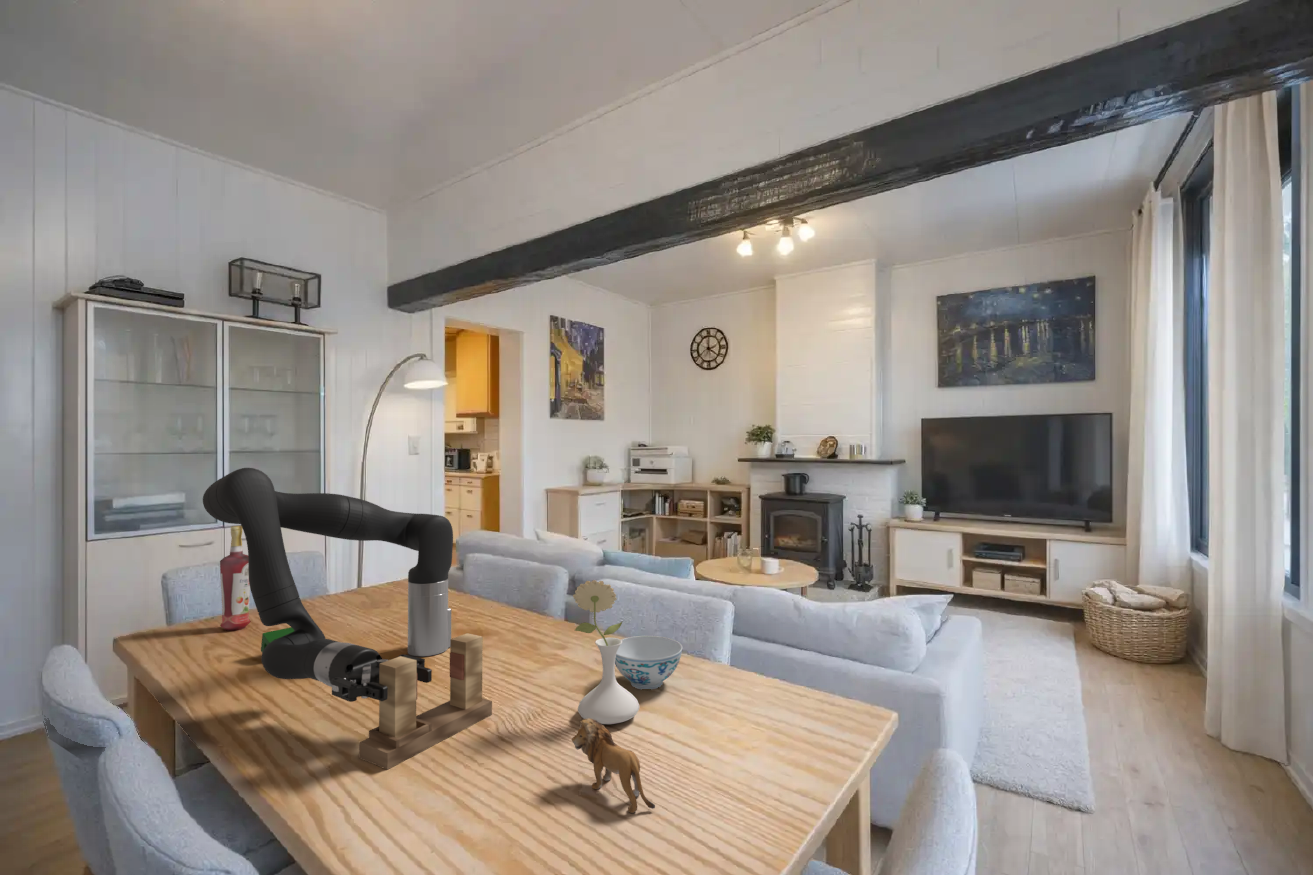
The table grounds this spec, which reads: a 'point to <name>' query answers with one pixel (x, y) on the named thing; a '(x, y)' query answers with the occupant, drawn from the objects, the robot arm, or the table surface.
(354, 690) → the robot arm
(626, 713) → the flower in vase
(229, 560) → the liquor
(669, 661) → the chinaware
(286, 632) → the clamp
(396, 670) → the tall wooden pillar
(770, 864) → the table surface
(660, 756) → the table surface
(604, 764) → the lion figurine
